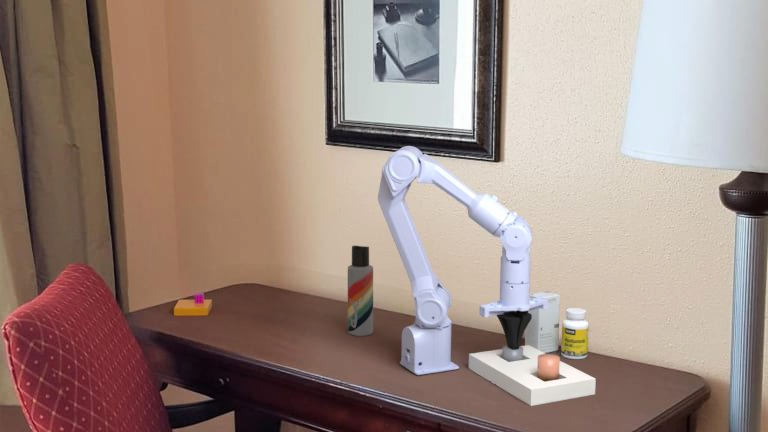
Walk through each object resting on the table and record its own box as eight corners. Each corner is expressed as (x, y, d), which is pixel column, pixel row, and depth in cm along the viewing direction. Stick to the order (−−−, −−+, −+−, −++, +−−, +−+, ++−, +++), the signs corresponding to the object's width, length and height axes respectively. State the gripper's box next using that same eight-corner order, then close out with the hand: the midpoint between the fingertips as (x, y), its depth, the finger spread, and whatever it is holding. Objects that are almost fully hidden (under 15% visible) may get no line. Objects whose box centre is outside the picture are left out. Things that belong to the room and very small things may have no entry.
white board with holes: (530, 405, 165) (531, 389, 164) (468, 368, 184) (468, 353, 184) (595, 394, 170) (595, 378, 170) (528, 359, 190) (528, 345, 190)
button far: (509, 372, 180) (509, 352, 179) (498, 365, 184) (498, 346, 183) (526, 369, 182) (527, 349, 181) (515, 363, 185) (516, 343, 185)
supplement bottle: (560, 358, 190) (562, 312, 189) (561, 350, 196) (563, 305, 194) (587, 361, 189) (589, 314, 188) (587, 352, 195) (589, 307, 193)
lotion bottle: (343, 334, 206) (343, 246, 203) (353, 327, 212) (353, 241, 208) (367, 337, 204) (367, 248, 201) (376, 330, 209) (377, 243, 206)
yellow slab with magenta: (207, 317, 221) (207, 299, 221) (174, 317, 221) (173, 300, 220) (212, 308, 229) (211, 291, 229) (179, 308, 229) (178, 291, 228)
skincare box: (537, 355, 193) (539, 298, 191) (523, 349, 196) (525, 294, 194) (559, 350, 196) (561, 294, 194) (544, 345, 200) (546, 290, 198)
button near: (545, 383, 169) (545, 362, 168) (532, 376, 173) (533, 355, 172) (563, 380, 171) (564, 359, 170) (550, 373, 174) (551, 352, 174)
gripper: (493, 289, 173) (492, 359, 175) (558, 281, 179) (555, 349, 181) (474, 280, 179) (473, 348, 182) (537, 273, 185) (535, 339, 188)
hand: (513, 348), depth 182 cm, fingers closed, pressing on button far
